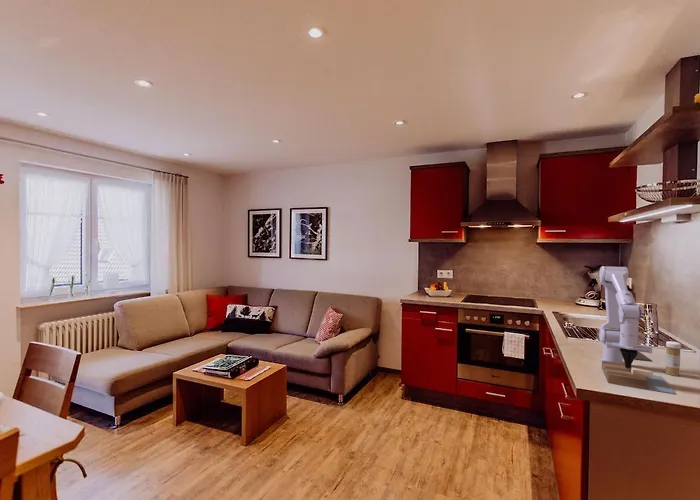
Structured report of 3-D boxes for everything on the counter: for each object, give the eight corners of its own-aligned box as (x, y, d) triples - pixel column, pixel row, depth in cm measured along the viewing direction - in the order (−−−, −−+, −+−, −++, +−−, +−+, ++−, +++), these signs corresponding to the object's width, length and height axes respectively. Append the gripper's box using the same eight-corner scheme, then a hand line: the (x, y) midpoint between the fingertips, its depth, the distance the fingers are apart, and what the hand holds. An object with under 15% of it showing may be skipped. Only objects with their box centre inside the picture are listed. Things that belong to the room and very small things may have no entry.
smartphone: (621, 351, 179) (633, 360, 165) (621, 349, 179) (633, 358, 165) (638, 352, 176) (653, 362, 162) (638, 351, 176) (653, 360, 162)
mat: (637, 373, 147) (637, 372, 147) (661, 377, 144) (661, 376, 144) (648, 389, 132) (648, 388, 132) (675, 394, 128) (675, 393, 128)
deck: (601, 368, 153) (602, 360, 153) (636, 373, 148) (636, 365, 147) (608, 382, 138) (608, 374, 138) (647, 389, 132) (647, 380, 132)
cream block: (628, 367, 145) (628, 362, 145) (647, 369, 142) (647, 365, 142) (632, 374, 137) (633, 369, 137) (652, 377, 134) (652, 372, 134)
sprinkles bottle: (677, 373, 148) (678, 341, 148) (681, 377, 144) (683, 344, 144) (663, 371, 150) (664, 340, 150) (667, 375, 146) (668, 343, 146)
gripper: (608, 334, 141) (606, 367, 142) (654, 339, 134) (653, 374, 135) (605, 330, 148) (604, 362, 148) (650, 335, 140) (648, 368, 141)
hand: (627, 367), depth 142 cm, fingers closed
